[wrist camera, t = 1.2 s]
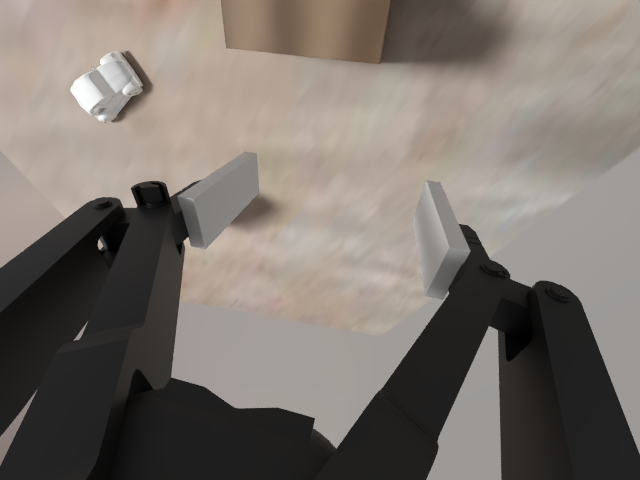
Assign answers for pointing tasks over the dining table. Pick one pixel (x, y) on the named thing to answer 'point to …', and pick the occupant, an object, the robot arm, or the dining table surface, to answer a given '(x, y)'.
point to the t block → (309, 27)
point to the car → (107, 87)
